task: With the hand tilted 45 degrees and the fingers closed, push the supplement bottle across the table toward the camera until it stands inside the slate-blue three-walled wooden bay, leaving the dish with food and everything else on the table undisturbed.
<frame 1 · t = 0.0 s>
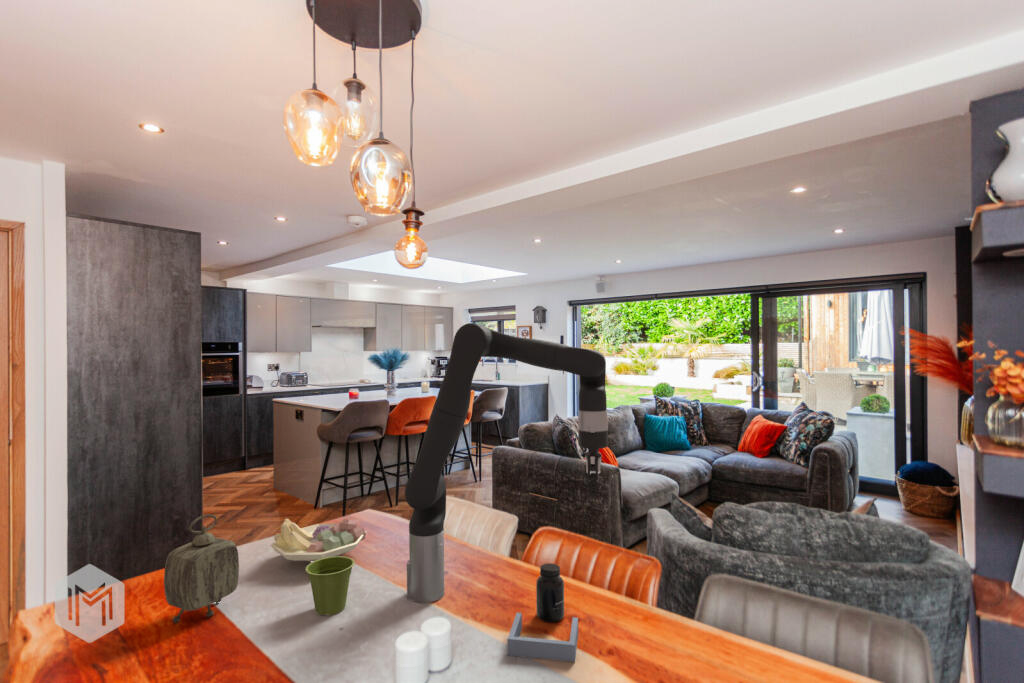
hand: (594, 491, 130), 29 cm above the table, tool pointing down, fingers open, 8 cm apart
supplement bottle: (550, 616, 126), on the table
tabletop clock: (204, 616, 129), on the table
bay: (544, 642, 114), on the table
plant pot: (330, 609, 131), on the table
dish with food: (320, 560, 162), on the table
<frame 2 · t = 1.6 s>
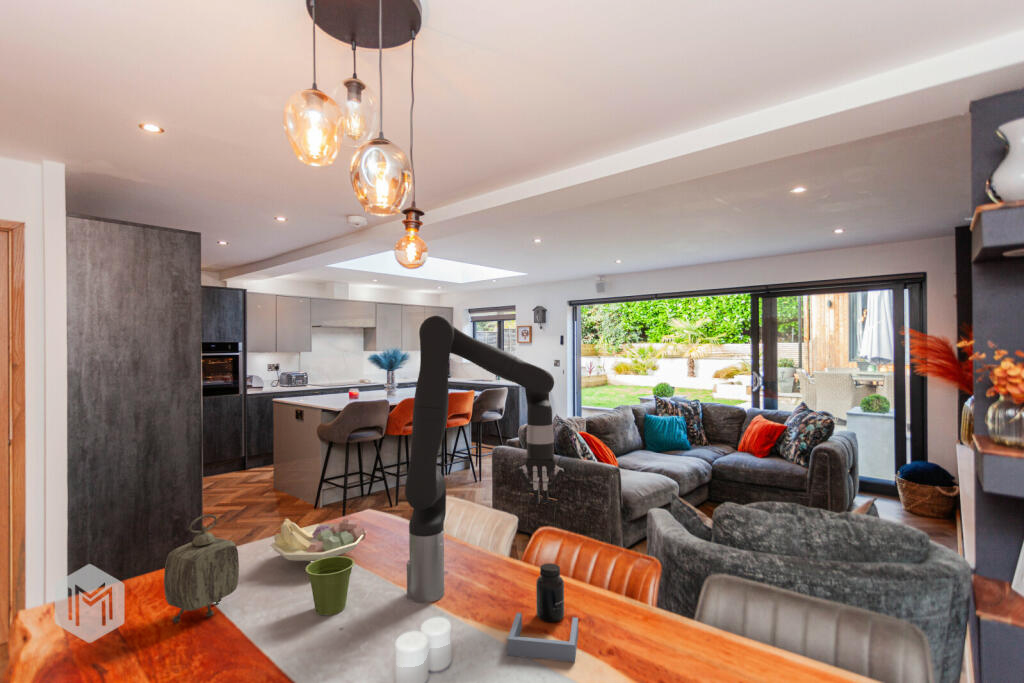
hand: (541, 502, 142), 23 cm above the table, tool pointing down, fingers closed
nothing on the table moved.
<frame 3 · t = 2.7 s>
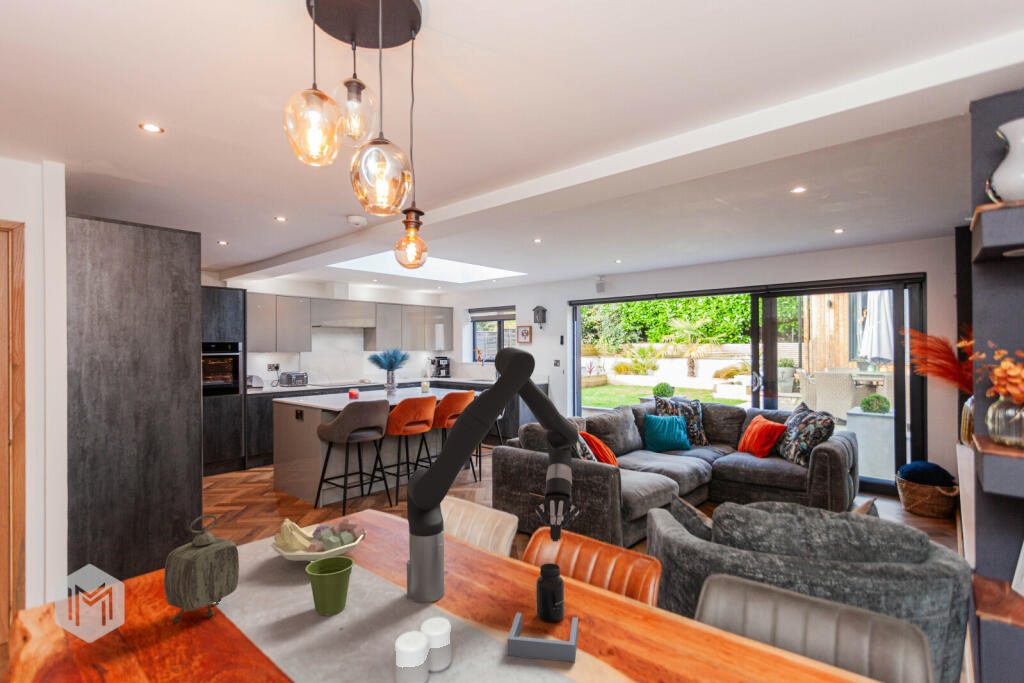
hand: (555, 540, 138), 14 cm above the table, tool tilted 45°, fingers closed
nothing on the table moved.
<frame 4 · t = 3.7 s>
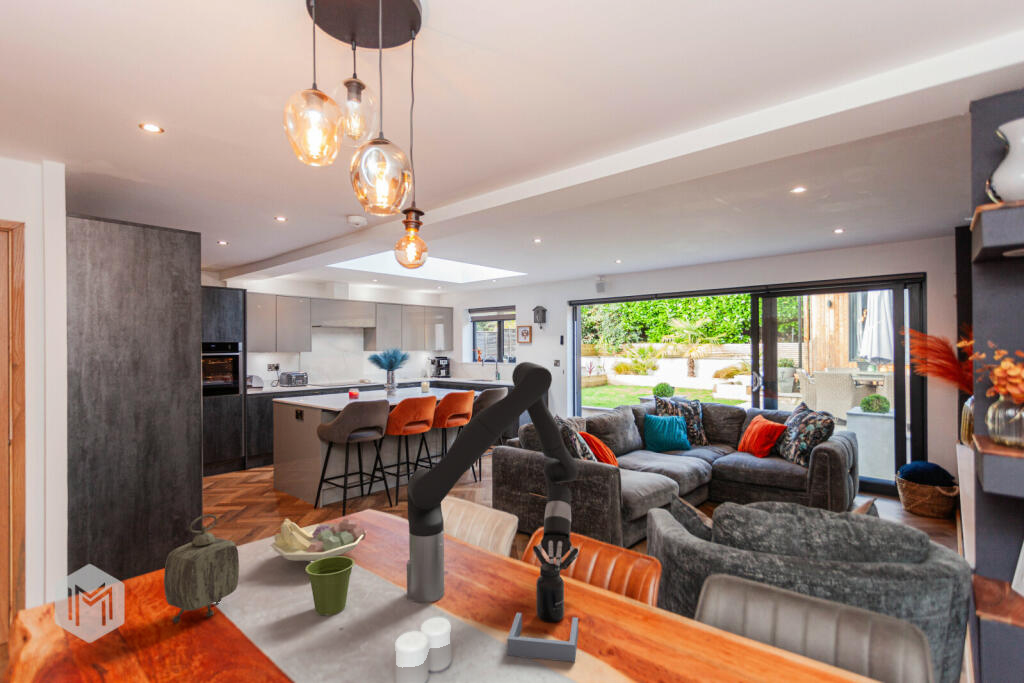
hand: (553, 584, 133), 4 cm above the table, tool tilted 45°, fingers closed
nothing on the table moved.
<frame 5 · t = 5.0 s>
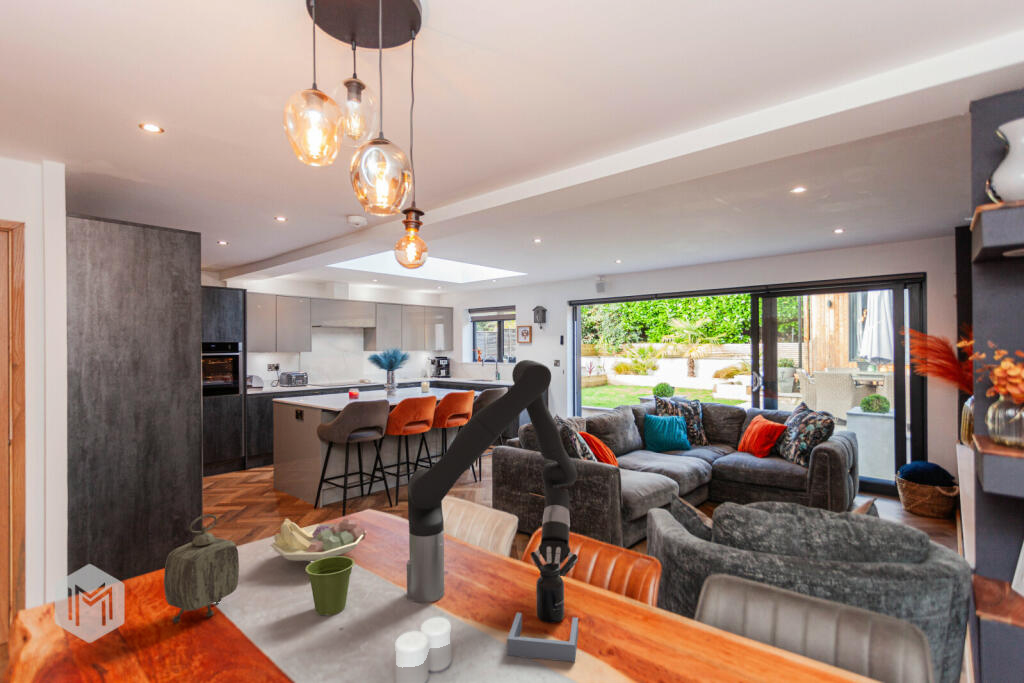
hand: (552, 591, 129), 4 cm above the table, tool tilted 45°, fingers closed
supplement bottle: (550, 617, 125), on the table, touching gripper
everything else where it was.
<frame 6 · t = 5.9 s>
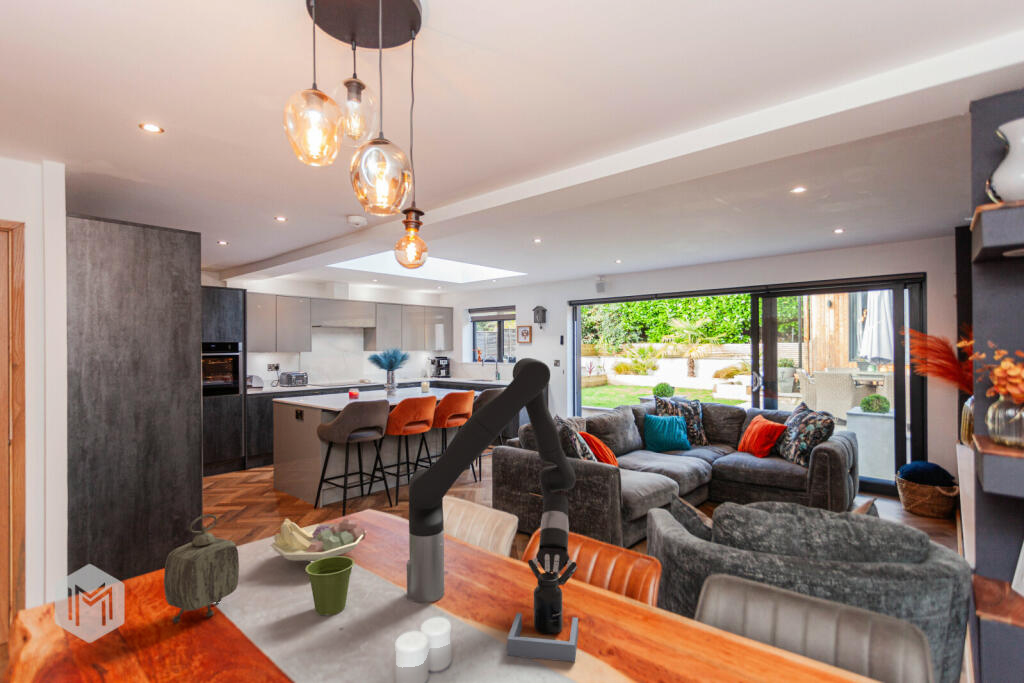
hand: (550, 601, 124), 4 cm above the table, tool tilted 45°, fingers closed
supplement bottle: (548, 628, 120), on the table, touching gripper
everything else where it was.
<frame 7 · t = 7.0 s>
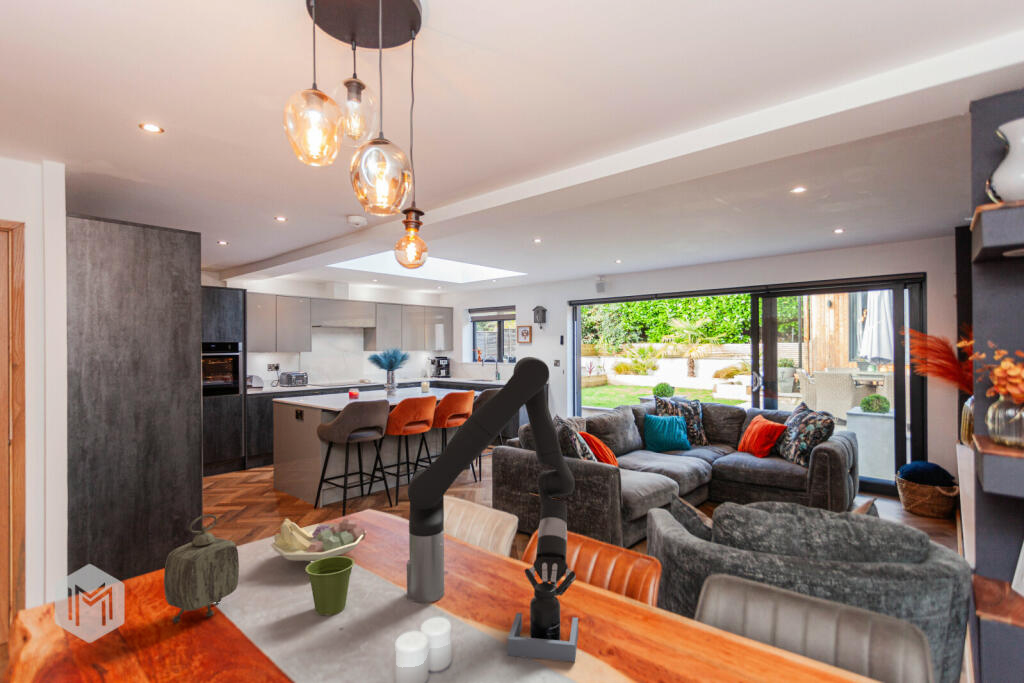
hand: (547, 612, 119), 4 cm above the table, tool tilted 45°, fingers closed
supplement bottle: (545, 641, 115), on the table, touching gripper
everything else where it was.
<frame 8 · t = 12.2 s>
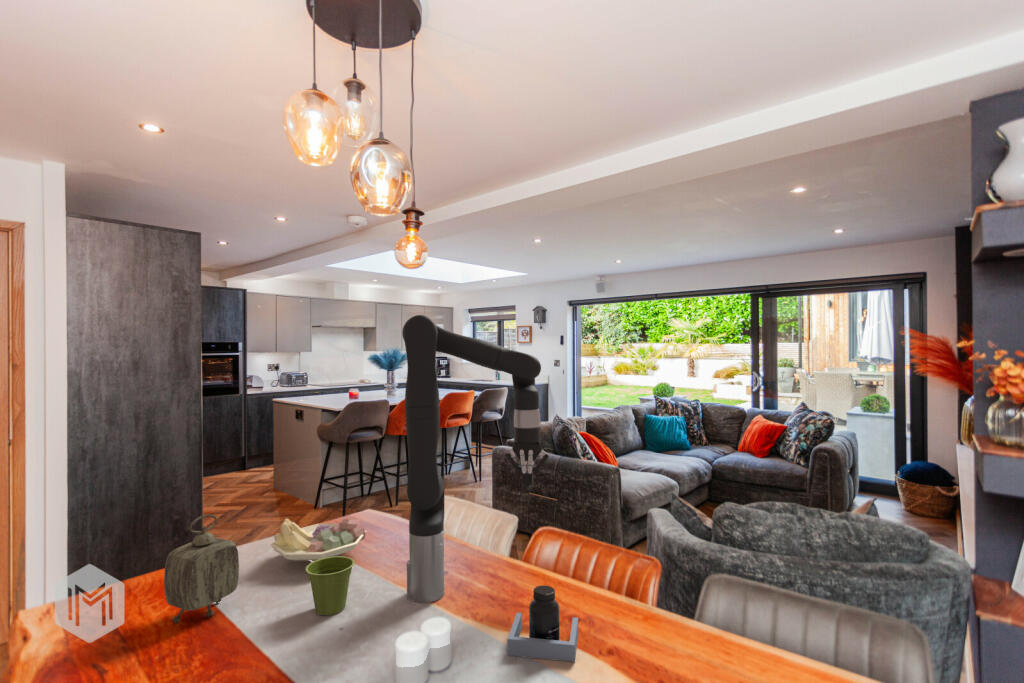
hand: (527, 486, 145), 27 cm above the table, tool pointing down, fingers closed
supplement bottle: (544, 645, 114), on the table
everything else where it was.
at the end: supplement bottle inside the target area (0.1 cm from its centre), on the table; supplement bottle tilted 0°; dish with food moved 0.3 cm from its start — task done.
